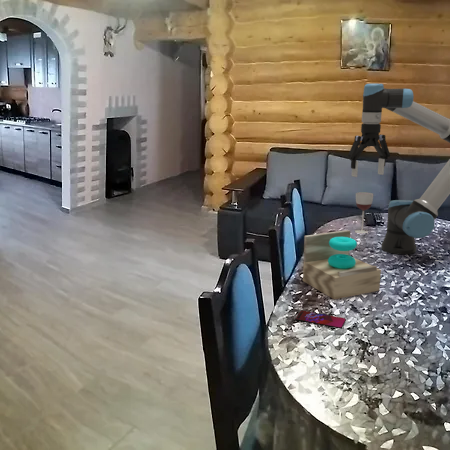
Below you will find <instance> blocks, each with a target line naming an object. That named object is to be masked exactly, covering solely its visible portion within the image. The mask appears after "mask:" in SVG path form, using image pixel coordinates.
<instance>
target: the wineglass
mask: <svg viewBox="0 0 450 450" xmlns="http://www.w3.org/2000/svg"><path fill="white" fill-rule="evenodd" d="M373 201H374V193H372V192H365V191H364V192H363V191H361V192H360V191H359V192H355V204H356V207H357V209H359V210H361V211H362V213H361V214H362V217H361V229H356V230H354V231H355V232H354V233H356V234H362V235H364V234H363V233H367V234H369V233H368V230H366V231H365V230H364V218H365V211H367V210H369V209H370V208H371V207H372V204H373Z"/></svg>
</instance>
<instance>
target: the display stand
mask: <svg viewBox="0 0 450 450" xmlns="http://www.w3.org/2000/svg"><path fill="white" fill-rule="evenodd" d="M334 237H349V238H351V230H349V229H345V230H340V231H339V230H337V231H330V232H324V233H315V234H310V235H304V240H303V241H304V244H303V268H302V269H303V270H302V282H304V283H306V284H307V285H309V286H310V285H311V287H313V288H314V289H316V290H317V291H319V292H321V293H322V294H324V295H325V296H327V297H329V298H331V299H332V300H338V299H343V298H349V297H353V296H358V295H364V294H368V293H369V294H370V293H375V292H378V291H380V287H381V275H382V269H380V268H378V266H376V265H371V264H369V263H367V262H364V261H362V260H360V259H358V258H355V257H353V258H354V259H355V261H356V264H355V266H354V267H352V268H348V269H339V268H335V267H332V266H331V265H329V263H328V259H329V257H330V256H332V255H335V254H346V255H350V251H338V250H335V249H333V248H331V247H330V245H329V241H330V239H332V238H334Z"/></svg>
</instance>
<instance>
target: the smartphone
mask: <svg viewBox="0 0 450 450" xmlns="http://www.w3.org/2000/svg"><path fill="white" fill-rule="evenodd" d="M294 320H295V321H296V322H299V321H301V322H300V323H305V322H309V323H308V324H310V323H313V324H312V325H316V324H320V325H319V326H322V325H325V326H324V327H327V326H329V327H328V328H333V327H336V328H335V329H338V328H341V329H343V328H344V325H345V323H346V322H347V319H346V318H345V317H340V316H337V315H335V316H334V315H330V314H324V313H319V312H315V311H314V312H312V311H308V310H300V311H299V313H298V314H297V316H296V317H295V318H294ZM345 321H346V322H345ZM342 327H343V328H342Z"/></svg>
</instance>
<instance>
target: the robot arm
mask: <svg viewBox="0 0 450 450" xmlns="http://www.w3.org/2000/svg"><path fill="white" fill-rule="evenodd" d="M383 109H386V110H387V111H390V112H393V113H395V114H397V115H399V116H401V117H402V118H404V119H406V120H409V121H411V122H412V123H415V124H416V125H419V126H421V127H423V128H425V129H427V130H428V131H431V132H433V133H435V134H437V135H439V138H440V139H442V140H444V141H446V142H447V143H448V144H450V118H448V117H446V116H444V115H442V114H440V113H438V112H436V111H434V110H431V109H430V108H428V107H426V106H424V105H422V104H420V103H418V102H416V101H414V92H413V90H412V89H411V88H385V87H384V83H366V84H365V85H364V87H363V94H362V112H361V113H362V114H361V125H360V126H361V127H360V128H361V129H360V132H361V135H355V136H354V140H353V143H352V145H351V147H350V150H349V152H348V153H347V156H346V158H347V160H349V161H350V169H351V177H354V178H358V170H359V161H358V159H359V158H360V156H361V154H363V152H364V151H365V149H366V148H370V147H373V148H374V149H375V151H376V153H377V154H378V155H379V157H380V158H378V167H377V175H381V176H384V171H385V167H386V161H387V160H388V159H389V158H390V157H391V153H390V150H389V147H388V144H387V143H388V142H387V140H386V134H380V133H381V128H382V125H381V122H382V112H383V111H382V110H383ZM449 196H450V158H449V159H448V161H447V162H446V163H445V164H444V166H443V167H442V169H441V170H440V171H439V172H438V174H437V175H436V177H435V178H434V179H433V180H432V182H431V183H430V185H428V187H427V188H426V190H425V191H424V192H423V194H422V195H421V196H420V198H417V199H414V200H412V199H411V200H408V199H395V200H390V201H389V203H388V208H387V223H386V231H385V235H384V237H383V241H382V242H381V247H380V248H381V250H382V251H383V252H386V253H389V254H395V255H411V254H412V255H413V254H415V253H416V252H417V243H416V241H415V239H423V238H426V237H427V236H430V234H431V233H432V232H433V231H434V228H435V224H436V223H435V220H436V219H437V217H438V216H439V212H438V210H439V208H440V207H441V206H442V205H443V203H444V202H445V201H446V200H447V198H448V197H449Z"/></svg>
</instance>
